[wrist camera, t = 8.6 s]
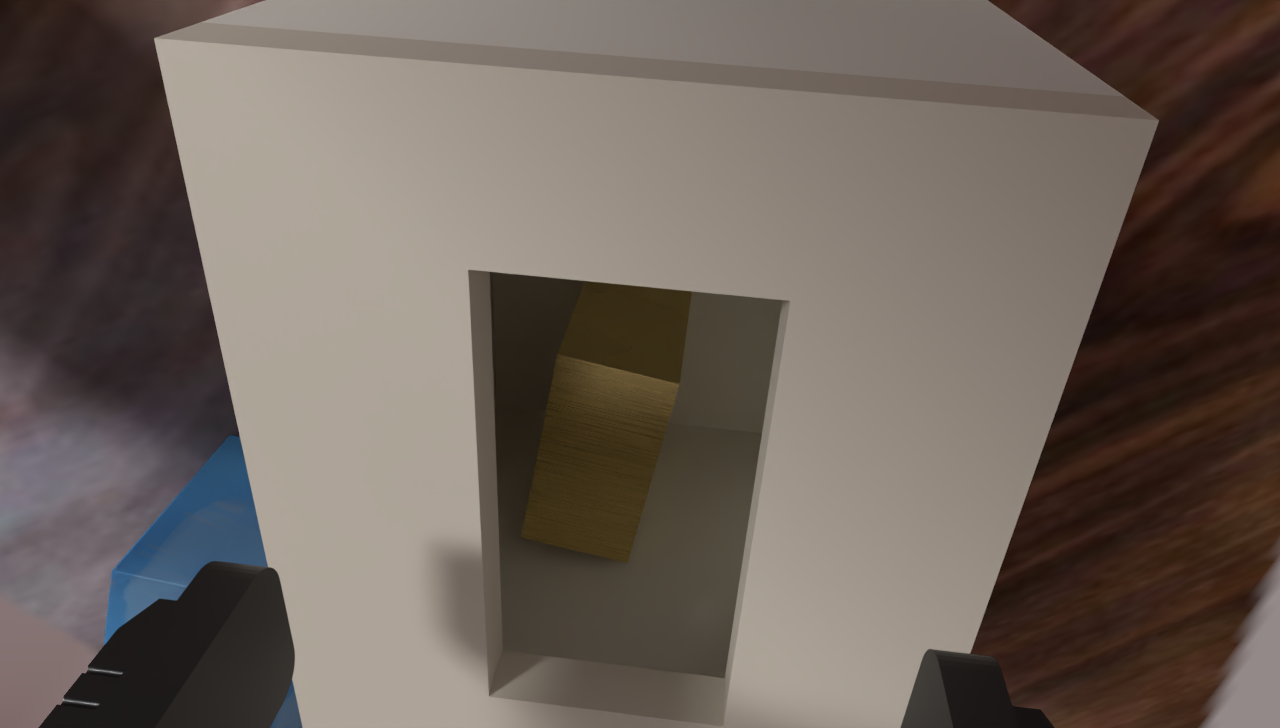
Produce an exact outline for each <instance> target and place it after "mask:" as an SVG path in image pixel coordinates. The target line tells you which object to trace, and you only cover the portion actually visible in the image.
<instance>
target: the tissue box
mask: <svg viewBox="0 0 1280 728" xmlns="http://www.w3.org/2000/svg"><path fill="white" fill-rule="evenodd" d="M154 41H155V45H156V50H157V55H158V59H159V64H160V68H161V73H162V78H163V82H164V87H165V92H166V96H167V101H168V106H169V110H170V115H171V119H172V124H173V129H174V133H175V138H176V143H177V147H178V152H179V157H180V161H181V166H182V170H183V175H184V180H185V184H186V189H187V194H188V198H189V203H190V208H191V212H192V217H193V221H194V226H195V231H196V235H197V240H198V245H199V249H200V254H201V259H202V263H203V268H204V272H205V277H206V282H207V286H208V291H209V296H210V300H211V305H212V310H213V314H214V319H215V323H216V328H217V333H218V337H219V342H220V347H221V351H222V356H223V361H224V365H225V370H226V375H227V379H228V384H229V388H230V393H231V398H232V402H233V407H234V412H235V416H236V421H237V426H238V430H239V435H240V439H241V444H242V449H243V453H244V458H245V463H246V467H247V472H248V477H249V481H250V486H251V490H252V495H253V500H254V504H255V509H256V514H257V518H258V523H259V528H260V532H261V537H262V541H263V546H264V551H265V555H266V560H267V565H268V567H271V568H273V569H275V570H276V571H277V573H278V575H279V578H280V582H281V587H282V592H283V597H284V601H285V606H286V611H287V616H288V620H289V625H290V630H291V635H292V640H293V644H294V650H295V665H294V672H293V677H292V681H293V685H294V690H295V694H296V699H297V704H298V708H299V713H300V718H301V722H302V727H303V728H901V724H902V721H903V718H904V715H905V712H906V709H907V705H908V702H909V699H910V696H911V693H912V690H913V687H914V683H915V680H916V677H917V674H918V671H919V668H920V664H921V661H922V658H923V656H924V654H925V652H926V651H927V650H928V649H934V650H943V651H951V652H959V653H968V654H970V652H971V650H972V647H973V644H974V641H975V638H976V635H977V633H978V630H979V627H980V624H981V621H982V619H983V616H984V613H985V610H986V607H987V604H988V602H989V599H990V596H991V593H992V590H993V588H994V585H995V582H996V579H997V576H998V573H999V571H1000V568H1001V565H1002V562H1003V559H1004V557H1005V554H1006V551H1007V548H1008V545H1009V542H1010V540H1011V537H1012V534H1013V531H1014V528H1015V526H1016V523H1017V520H1018V517H1019V514H1020V511H1021V509H1022V506H1023V503H1024V500H1025V497H1026V495H1027V492H1028V489H1029V486H1030V483H1031V480H1032V478H1033V475H1034V472H1035V469H1036V466H1037V463H1038V461H1039V458H1040V455H1041V452H1042V449H1043V447H1044V444H1045V441H1046V438H1047V435H1048V432H1049V430H1050V427H1051V424H1052V421H1053V418H1054V416H1055V413H1056V410H1057V407H1058V404H1059V401H1060V399H1061V396H1062V393H1063V390H1064V387H1065V385H1066V382H1067V379H1068V376H1069V373H1070V370H1071V368H1072V365H1073V362H1074V359H1075V356H1076V354H1077V351H1078V348H1079V345H1080V342H1081V339H1082V337H1083V334H1084V331H1085V328H1086V325H1087V323H1088V320H1089V317H1090V314H1091V311H1092V308H1093V306H1094V303H1095V300H1096V297H1097V294H1098V291H1099V289H1100V286H1101V283H1102V280H1103V277H1104V275H1105V272H1106V269H1107V266H1108V263H1109V260H1110V258H1111V255H1112V252H1113V249H1114V246H1115V244H1116V241H1117V238H1118V235H1119V232H1120V229H1121V227H1122V224H1123V221H1124V218H1125V215H1126V213H1127V210H1128V207H1129V204H1130V201H1131V198H1132V196H1133V193H1134V190H1135V187H1136V184H1137V182H1138V179H1139V176H1140V173H1141V170H1142V167H1143V165H1144V162H1145V159H1146V156H1147V153H1148V151H1149V148H1150V145H1151V142H1152V139H1153V136H1154V134H1155V131H1156V128H1157V125H1158V122H1159V120H1158V119H1156V118H1155V117H1153V116H1152V115H1151V114H1149V113H1148V112H1146V111H1145V110H1143V109H1142V108H1141V107H1139V106H1138V105H1136V104H1135V103H1133V102H1132V101H1131V100H1129V99H1128V98H1126V97H1125V96H1123V95H1122V94H1121V93H1119V92H1118V91H1116V90H1115V89H1113V88H1112V87H1111V86H1109V85H1108V84H1106V83H1105V82H1103V81H1102V80H1101V79H1099V78H1098V77H1096V76H1095V75H1093V74H1092V73H1091V72H1089V71H1088V70H1086V69H1085V68H1083V67H1082V66H1081V65H1079V64H1078V63H1076V62H1075V61H1073V60H1072V59H1071V58H1069V57H1068V56H1066V55H1065V54H1063V53H1062V52H1061V51H1059V50H1058V49H1056V48H1055V47H1053V46H1052V45H1051V44H1049V43H1048V42H1046V41H1045V40H1043V39H1042V38H1041V37H1039V36H1038V35H1036V34H1035V33H1033V32H1032V31H1031V30H1029V29H1028V28H1026V27H1025V26H1023V25H1022V24H1021V23H1019V22H1018V21H1016V20H1015V19H1013V18H1012V17H1011V16H1009V15H1008V14H1006V13H1005V12H1003V11H1002V10H1001V9H999V8H998V7H996V6H995V5H993V4H992V3H991V2H989V1H988V0H265V1H262V2H259V3H256V4H253V5H250V6H247V7H245V8H242V9H239V10H236V11H233V12H230V13H227V14H224V15H221V16H218V17H215V18H212V19H209V20H206V21H203V22H200V23H197V24H194V25H191V26H188V27H186V28H183V29H180V30H177V31H174V32H171V33H168V34H165V35H162V36H159V37H156V38H154ZM585 281H590V282H601V283H611V284H621V285H632V286H642V287H652V288H663V289H673V290H683V291H692V295H691V302H690V310H689V317H688V325H687V332H686V340H685V348H684V355H683V363H682V370H681V378H680V385H679V388H678V392H677V395H676V398H675V402H674V405H673V409H672V412H671V416H670V419H669V423H668V426H667V429H666V433H665V436H664V440H663V443H662V447H661V450H660V454H659V457H658V460H657V464H656V467H655V471H654V474H653V478H652V481H651V484H650V488H649V491H648V495H647V498H646V502H645V505H644V509H643V512H642V515H641V519H640V522H639V526H638V529H637V533H636V536H635V540H634V543H633V546H632V550H631V553H630V557H629V560H628V563H625V562H620V561H616V560H612V559H608V558H604V557H600V556H596V555H591V554H587V553H583V552H579V551H575V550H571V549H567V548H562V547H558V546H554V545H550V544H546V543H542V542H538V541H533V540H529V539H525V538H521V534H522V529H523V524H524V519H525V514H526V509H527V504H528V499H529V494H530V489H531V484H532V479H533V474H534V469H535V464H536V459H537V454H538V449H539V444H540V439H541V434H542V429H543V424H544V419H545V414H546V409H547V404H548V399H549V394H550V389H551V384H552V379H553V374H554V369H555V364H556V359H557V354H558V351H559V349H560V346H561V343H562V341H563V338H564V335H565V333H566V330H567V327H568V325H569V322H570V319H571V317H572V314H573V311H574V309H575V306H576V303H577V301H578V298H579V295H580V293H581V290H582V287H583V285H584V282H585Z"/></svg>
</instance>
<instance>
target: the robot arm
mask: <svg viewBox="0 0 1280 728" xmlns="http://www.w3.org/2000/svg"><path fill="white" fill-rule="evenodd" d="M294 665H295V650H294V644H293V640H292V635H291V630H290V625H289V620H288V616H287V611H286V606H285V601H284V597H283V592H282V587H281V582H280V578H279V575H278V573H277V571H276V570H275V569H273V568H271V567H263V566H254V565H246V564H238V563H229V562H221V561H211V562H209V563H207V564H206V565H205V566H203V567H202V568H201V569H200V571H199V572H198V573H197V574H196V576H195V577H194V578H193V580H192V581H191V582H190V584H189V585H188V586H187V588H186V589H185V590H184V592H183V593H182V594H181V596H180V597H179V598H178V600H177V601H176V600H168V599H160V598H159V599H158V600H157V601H155V602H154V603H153V604H151V605H150V606H148V607H147V608H146V609H144V610H143V611H141V612H140V613H139V614H137V615H136V616H134V617H133V618H132V619H130V620H129V621H128V622H126V623H125V624H123V625H122V626H121V627H119V628H118V629H117V630H116V631H115V633H114V634H113V635H112V636H111V638H110V639H109V640H108V641H107V643H106V644H105V645H104V646H103V648H102V649H101V650H100V651H99V653H98V654H97V655H96V657H95V658H94V659H93V660H92V662H91V663H90V664H89V665H88V671H87V672H86V673H85V674H84V673H82V674H81V675H80V677H79V678H78V679H77V681H76V682H75V683H74V684H73V685H72V687H71V688H70V689H69V690H68V692H67V693H66V694H65V695H64V700H63V702H62V704H61V705H56V707H55V708H54V709H53V710H52V712H51V713H50V714H49V716H48V717H47V718H46V719H45V720H44V722H43V723H42V724H41V726H40V727H39V728H270V727H271V725H272V723H273V721H274V719H275V718H276V716H277V714H278V712H279V710H280V708H281V706H282V705H283V703H284V700H285V698H286V696H287V694H288V691H289V688H290V685H291V681H292V677H293V672H294ZM901 728H1054V727H1053V725H1052V724H1051V723H1050V721H1049V720H1048V719H1047V717H1046V716H1045V715H1044V714H1043V712H1042V711H1041V710H1039V709H1031V708H1023V707H1015V706H1012V705H1011V701H1010V698H1009V694H1008V691H1007V688H1006V684H1005V681H1004V678H1003V674H1002V671H1001V668H1000V666H999V664H998V662H997V661H996V659H995V658H993V657H991V656H984V655H976V654H968V653H959V652H951V651H943V650H934V649H928V650H927V651H926V652H925V654H924V656H923V658H922V661H921V664H920V668H919V671H918V674H917V677H916V680H915V683H914V687H913V690H912V693H911V696H910V699H909V702H908V705H907V709H906V712H905V715H904V718H903V721H902V724H901Z"/></svg>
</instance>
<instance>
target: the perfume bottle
mask: <svg viewBox="0 0 1280 728" xmlns="http://www.w3.org/2000/svg"><path fill="white" fill-rule="evenodd" d="M211 561H221V562H229V563H238V564H246V565H254V566H263V567H268V565H267V560H266V555H265V551H264V546H263V541H262V537H261V532H260V528H259V523H258V518H257V514H256V509H255V504H254V500H253V495H252V490H251V486H250V481H249V477H248V472H247V467H246V463H245V458H244V453H243V449H242V444H241V439H240V437H237V436H233V435H230V436H229V437H228V438H227V439H226V440H225V441H224V442H223V444H222V445H221V446H220V447H219V448H218V449H217V451H216V452H215V453H214V454H213V455H212V456H211V457H210V459H209V460H208V461H207V462H206V463H205V464H204V465H203V467H202V468H201V469H200V470H199V471H198V472H197V473H196V475H195V476H194V477H193V478H192V479H191V480H190V482H189V483H188V484H187V485H186V486H185V487H184V488H183V490H182V491H181V492H180V493H179V494H178V495H177V496H176V498H175V499H174V500H173V501H172V502H171V503H170V504H169V506H168V507H167V508H166V509H165V510H164V511H163V513H162V514H161V515H160V516H159V517H158V518H157V519H156V521H155V522H154V523H153V524H152V525H151V526H150V527H149V529H148V530H147V531H146V532H145V533H144V534H143V536H142V537H141V538H140V539H139V540H138V541H137V542H136V544H135V545H134V546H133V547H132V548H131V549H130V550H129V552H128V553H127V554H126V555H125V556H124V557H123V558H122V560H121V561H120V562H119V563H118V564H117V565H116V567H115V568H114V569H113V570H112V574H111V584H110V593H109V602H108V611H107V621H106V630H105V639H104V645H105V644H106V643H107V641H108V640H109V639H110V638H111V636H112V635H113V634H114V633H115V631H116V630H117V629H118V628H119V627H121V626H122V625H123V624H125V623H126V622H128V621H129V620H130V619H132V618H133V617H134V616H136V615H137V614H139V613H140V612H141V611H143V610H144V609H146V608H147V607H148V606H150V605H151V604H153V603H154V602H155V601H157V600H158V599H159V598H160V599H168V600H176V601H177V600H178V598H179V597H180V596H181V594H182V593H183V592H184V590H185V589H186V588H187V586H188V585H189V584H190V582H191V581H192V580H193V578H194V577H195V576H196V574H197V573H198V572H199V571H200V569H201V568H202V567H203V566H205V565H206V564H207V563H209V562H211ZM270 728H303V727H302V722H301V718H300V713H299V708H298V704H297V699H296V694H295V690H294V685H293V681H291V685H290V688H289V691H288V694H287V696H286V698H285V700H284V703H283V705H282V706H281V708H280V710H279V712H278V714H277V716H276V718H275V719H274V721H273V723H272V725H271V727H270Z"/></svg>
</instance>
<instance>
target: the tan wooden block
mask: <svg viewBox="0 0 1280 728" xmlns="http://www.w3.org/2000/svg"><path fill="white" fill-rule="evenodd" d="M691 295H692V291H683V290H673V289H663V288H652V287H642V286H632V285H621V284H611V283H601V282H590V281H585V282H584V285H583V287H582V290H581V293H580V295H579V298H578V301H577V303H576V306H575V309H574V311H573V314H572V317H571V319H570V322H569V325H568V327H567V330H566V333H565V335H564V338H563V341H562V343H561V346H560V349H559V351H558V354H557V359H556V364H555V369H554V374H553V379H552V384H551V389H550V394H549V399H548V404H547V409H546V414H545V419H544V424H543V429H542V434H541V439H540V444H539V449H538V454H537V459H536V464H535V469H534V474H533V479H532V484H531V489H530V494H529V499H528V504H527V509H526V514H525V519H524V524H523V529H522V534H521V538H525V539H529V540H533V541H538V542H542V543H546V544H550V545H554V546H558V547H562V548H567V549H571V550H575V551H579V552H583V553H587V554H591V555H596V556H600V557H604V558H608V559H612V560H616V561H620V562H625V563H628V560H629V557H630V553H631V550H632V546H633V543H634V540H635V536H636V533H637V529H638V526H639V522H640V519H641V515H642V512H643V509H644V505H645V502H646V498H647V495H648V491H649V488H650V484H651V481H652V478H653V474H654V471H655V467H656V464H657V460H658V457H659V454H660V450H661V447H662V443H663V440H664V436H665V433H666V429H667V426H668V423H669V419H670V416H671V412H672V409H673V405H674V402H675V398H676V395H677V392H678V388H679V385H680V378H681V370H682V363H683V355H684V348H685V340H686V332H687V325H688V317H689V310H690V302H691Z"/></svg>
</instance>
